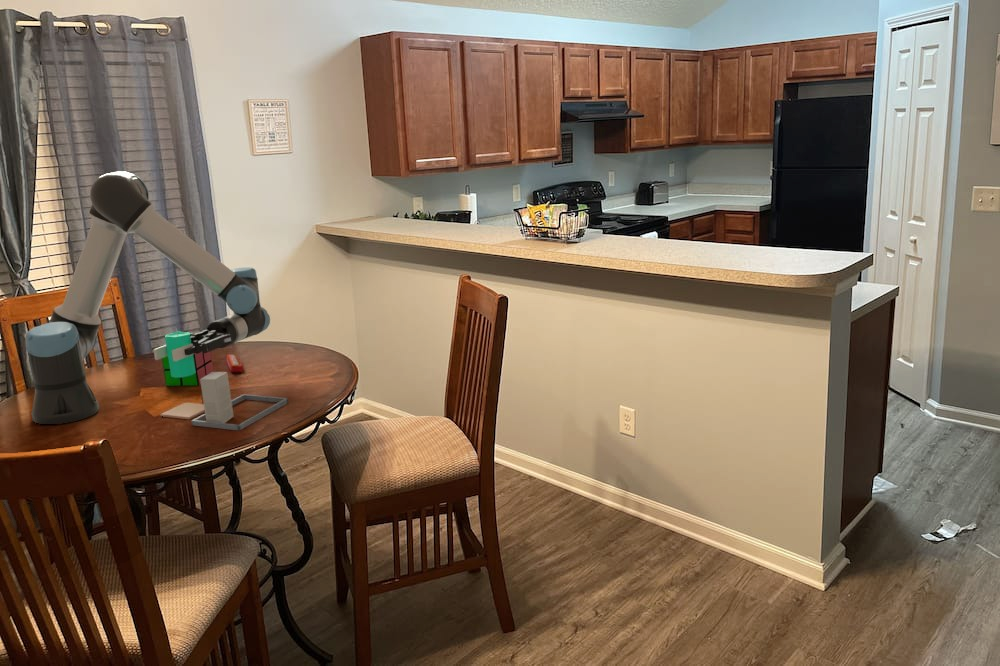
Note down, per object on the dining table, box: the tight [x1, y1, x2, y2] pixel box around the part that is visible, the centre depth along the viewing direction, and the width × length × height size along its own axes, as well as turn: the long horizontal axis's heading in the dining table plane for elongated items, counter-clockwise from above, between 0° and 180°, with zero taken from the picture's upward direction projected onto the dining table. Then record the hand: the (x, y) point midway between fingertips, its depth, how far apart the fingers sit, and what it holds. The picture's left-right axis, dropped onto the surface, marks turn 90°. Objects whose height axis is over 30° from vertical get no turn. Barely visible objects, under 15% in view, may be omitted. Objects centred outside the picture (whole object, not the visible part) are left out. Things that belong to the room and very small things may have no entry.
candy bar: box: [226, 353, 244, 374], centre depth 237 cm, size 16×4×3 cm, turn 24°
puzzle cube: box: [161, 348, 215, 387], centre depth 224 cm, size 10×10×10 cm
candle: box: [164, 328, 196, 378], centre depth 195 cm, size 6×6×12 cm
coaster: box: [160, 402, 205, 420], centre depth 199 cm, size 9×9×1 cm
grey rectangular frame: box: [191, 393, 289, 431], centre depth 196 cm, size 14×20×1 cm
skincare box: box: [200, 371, 234, 423], centre depth 190 cm, size 6×4×12 cm
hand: (164, 355), depth 190 cm, fingers closed on candle, 5 cm apart
